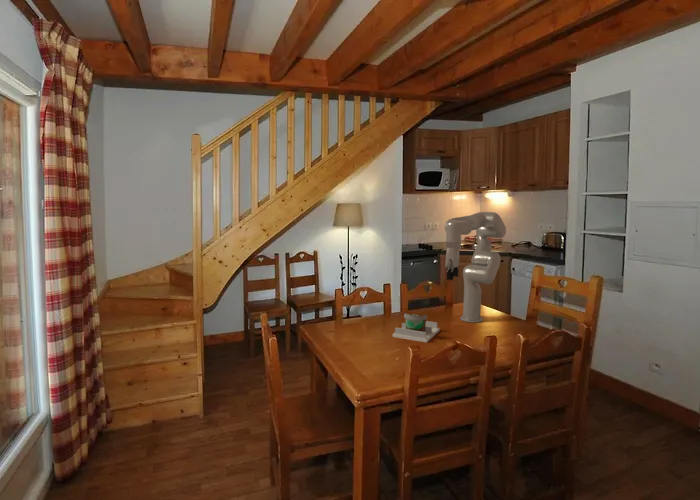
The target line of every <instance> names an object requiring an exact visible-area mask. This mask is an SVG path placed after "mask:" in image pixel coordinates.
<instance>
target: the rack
mask: <svg viewBox="0 0 700 500" xmlns="http://www.w3.org/2000/svg"><path fill="white" fill-rule="evenodd" d="M440 331H441V328H440V327H439V325H438V322H436V321H430V320H426V325H425V332H422V331H415V330H409V329H406V322H402V323H401V327H395V328H394V332H393V333H392V337H393V338H398V339H405V340H409V341H416V342H422V343H428V342H429V341H430V340H431V339H433V338H434V337H435V336H436V334H438V333H439V332H440Z"/></svg>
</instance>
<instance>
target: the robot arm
mask: <svg viewBox="0 0 700 500" xmlns="http://www.w3.org/2000/svg"><path fill="white" fill-rule="evenodd" d="M444 231H445V234H446V236H445V248H446V252H445V253H446V254H445V264H444V266H445V268H446V280H447V281H448V280H449V281H453V280H454V277H456V278H457V277H459V265H460V250H461V249H462V246H461V245H462V236H466V235H469V234H471V233H472V231H475V235H476V241H477V245H476V247H475V250H474V252H473V255H472V256H471V261H470V262H471V264H469V265H466V266H465V267H463V270H462V278H463V303H462V304H463V306H462V307H463V308H462V310H463V311H462V315H460V316H459V318H460V320H461V321H463V322H467V323H481V322H483V321H484V318H483V317H482V316H481V312H482V311H481V309H482V307H481V306H482V288H481V285H480V284H485V285H490V284H492V283H494V282H493V281H494V280H495V278H496V276H497V274H498V270H499V268H500V265H501V255H500V253H498V252H496V251H492V250H493V245H492V243H491V241H490V240H489V239H488V238H491V239H502V238H504V237H506V234H507V227H506V224H505V223H504V221H503V218H501V215H499V213H497V212H494V211H493V212H492V211H479V212H476V213H472V214H469V215H464V216H459V217H452V218H449V219H447V221H446V222H445V224H444Z"/></svg>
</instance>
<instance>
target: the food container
mask: <svg viewBox="0 0 700 500" xmlns="http://www.w3.org/2000/svg"><path fill="white" fill-rule="evenodd" d="M403 314H404V315H403V318H404V319H405V323H406V329H409V330H415V331H422V332H425V325H426V321H427V320H428V315H427V314H424V315H420V314H417V313H407V312H406V311H405V312H404V313H403Z"/></svg>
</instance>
